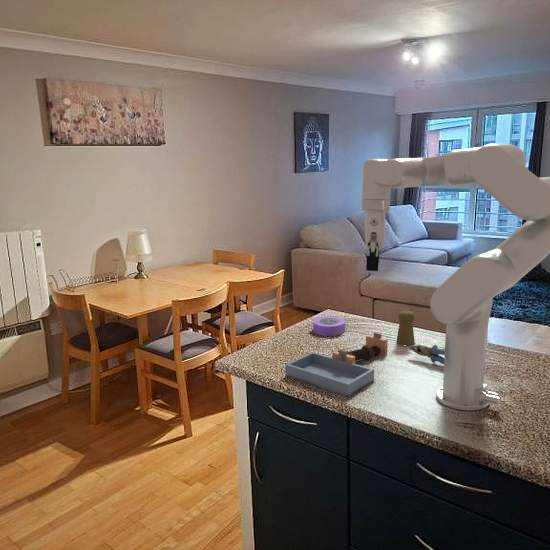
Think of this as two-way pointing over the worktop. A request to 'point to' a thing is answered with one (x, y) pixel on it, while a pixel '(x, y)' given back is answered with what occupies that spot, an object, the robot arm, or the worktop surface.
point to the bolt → (365, 352)
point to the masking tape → (329, 326)
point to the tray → (330, 373)
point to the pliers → (429, 352)
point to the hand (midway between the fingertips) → (372, 266)
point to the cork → (406, 328)
